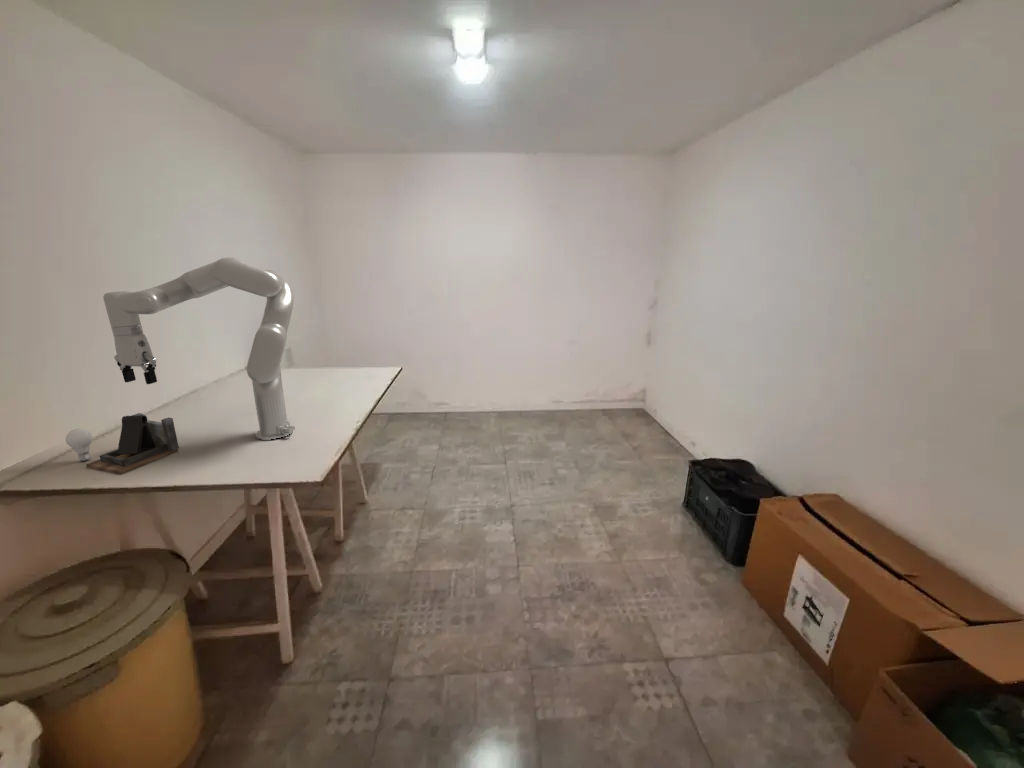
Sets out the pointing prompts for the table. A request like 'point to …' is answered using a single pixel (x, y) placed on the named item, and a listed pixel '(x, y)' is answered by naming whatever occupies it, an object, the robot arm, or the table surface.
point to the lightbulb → (80, 442)
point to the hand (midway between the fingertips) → (141, 382)
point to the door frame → (164, 447)
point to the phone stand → (135, 436)
